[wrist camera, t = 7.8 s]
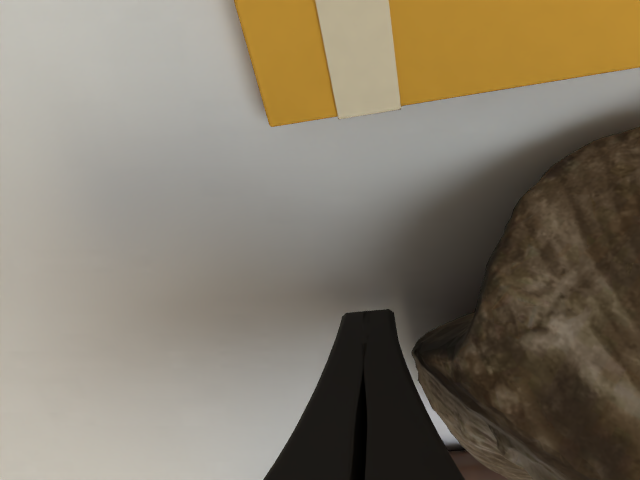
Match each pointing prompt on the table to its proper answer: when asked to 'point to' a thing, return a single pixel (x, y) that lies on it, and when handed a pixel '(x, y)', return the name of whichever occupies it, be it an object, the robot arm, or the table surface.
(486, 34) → the towel
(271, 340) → the table surface
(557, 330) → the fossilized seashell
